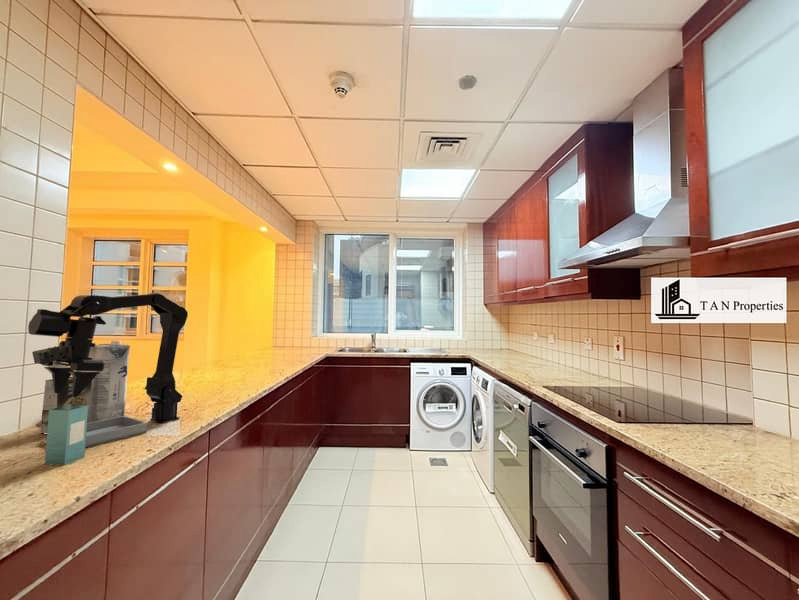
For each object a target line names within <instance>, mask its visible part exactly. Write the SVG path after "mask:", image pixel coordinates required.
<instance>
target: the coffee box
mask: <svg viewBox="0 0 799 600" xmlns="http://www.w3.org/2000/svg"><path fill="white" fill-rule="evenodd" d="M44 382H45V383H44V391H43V392H44V394H43V402H42V411H41V421H40V428H39V429H40V430H39V433H40V432H41V433H47V429H48V417H49V410H50V409H54V408H58V407H62V406H66V405H88V415H87V423H89V422H88V421H89V409H90V397H91V386H92V381H91V382H90V383H89V384H88V385H87V386H86V387H85V389H84V390H83V391H82V392H81V393H80V394H79V396H78V397H72V388H73V376H70V378H69V379H68V381H67V383H66V384H65V386H64V387H63V389H62V390H61V392H60V393H54V386H53V379H45V381H44Z"/></svg>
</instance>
